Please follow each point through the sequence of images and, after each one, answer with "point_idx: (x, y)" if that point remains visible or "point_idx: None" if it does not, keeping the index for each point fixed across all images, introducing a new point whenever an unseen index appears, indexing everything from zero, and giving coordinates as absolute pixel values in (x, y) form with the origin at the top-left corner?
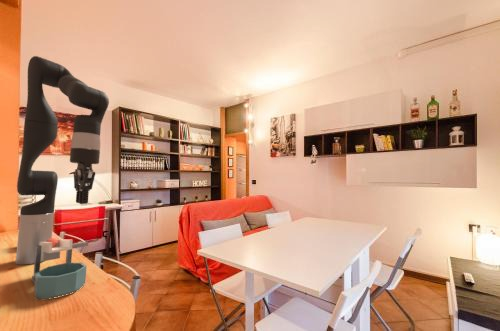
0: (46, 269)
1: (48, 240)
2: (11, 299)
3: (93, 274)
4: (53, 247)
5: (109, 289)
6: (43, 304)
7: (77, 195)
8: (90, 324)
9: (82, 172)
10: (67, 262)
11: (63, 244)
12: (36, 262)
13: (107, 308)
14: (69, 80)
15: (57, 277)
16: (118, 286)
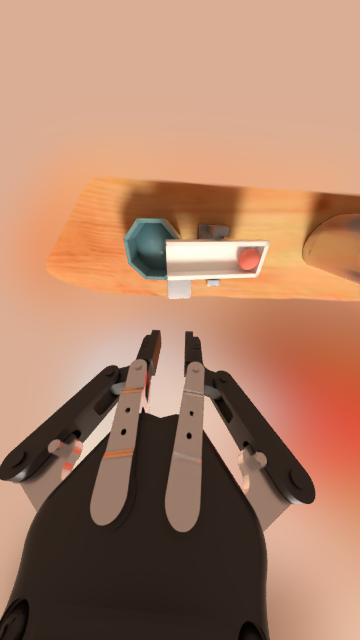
0: (172, 235)
1: (249, 254)
2: (169, 190)
3: None
4: None
5: (125, 285)
6: (126, 223)
7: (185, 348)
8: (57, 249)
9: (84, 474)
10: None
11: (212, 272)
12: (210, 227)
13: (82, 270)
14: None
15: (124, 240)
16: (127, 293)
